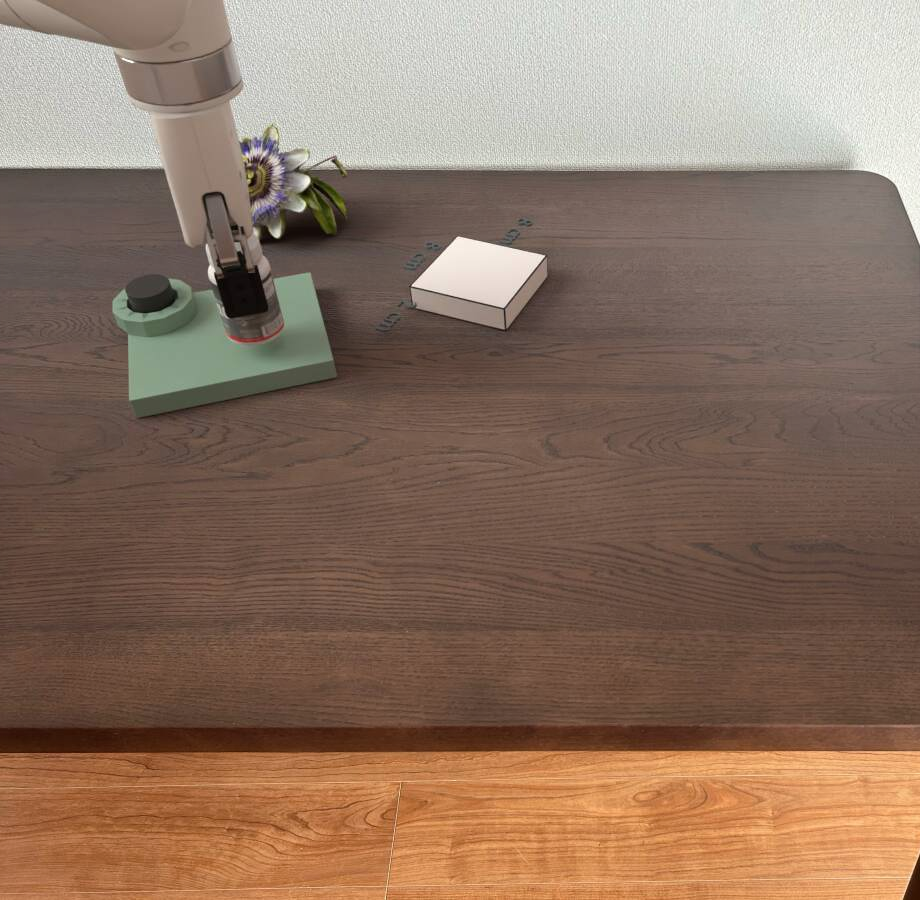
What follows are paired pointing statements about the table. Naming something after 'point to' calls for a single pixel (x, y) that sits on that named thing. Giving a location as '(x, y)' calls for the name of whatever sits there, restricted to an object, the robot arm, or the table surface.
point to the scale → (219, 349)
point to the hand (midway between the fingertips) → (244, 292)
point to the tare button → (150, 293)
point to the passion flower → (285, 186)
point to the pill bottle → (257, 325)
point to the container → (476, 281)
